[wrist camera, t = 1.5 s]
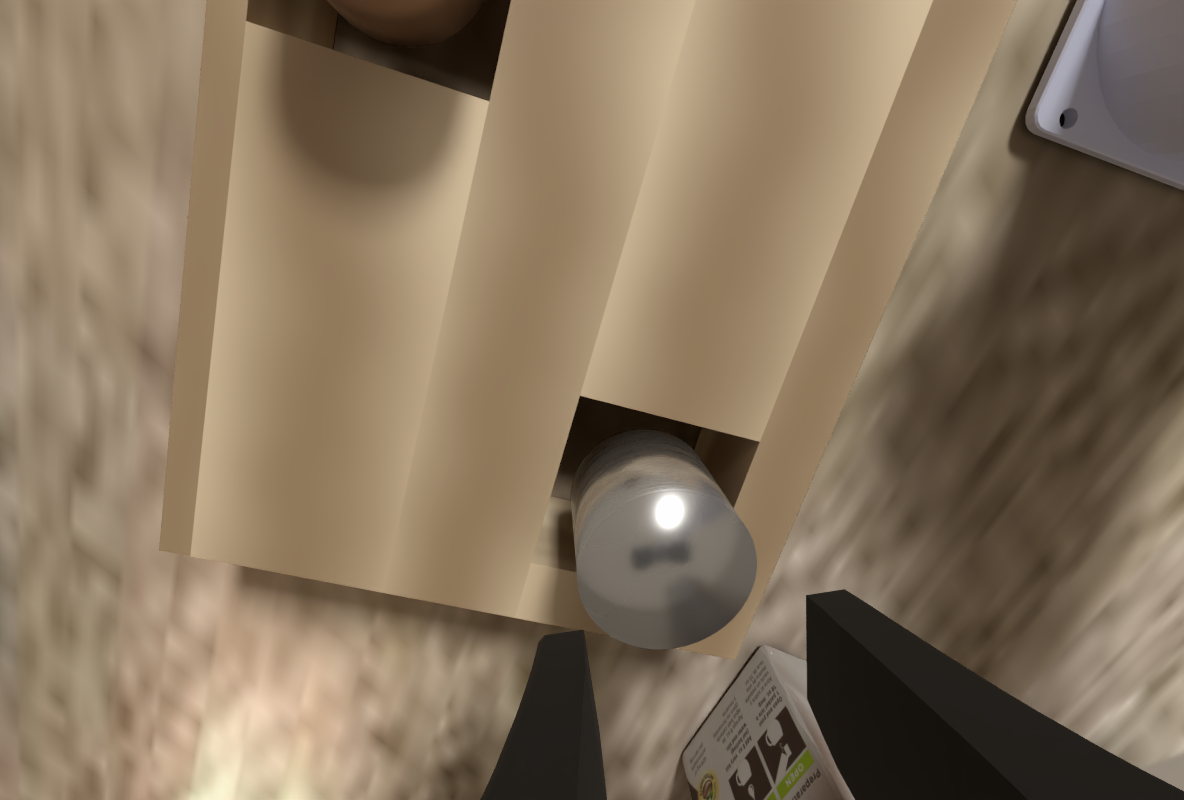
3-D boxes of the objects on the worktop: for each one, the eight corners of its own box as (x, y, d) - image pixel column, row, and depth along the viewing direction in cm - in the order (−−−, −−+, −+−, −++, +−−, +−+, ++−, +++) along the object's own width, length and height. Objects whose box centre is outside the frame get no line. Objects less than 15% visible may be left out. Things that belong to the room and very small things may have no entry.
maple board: (920, 2, 15) (1052, -81, 11) (698, 575, 19) (735, 659, 15) (339, -234, 12) (245, -443, 9) (247, 478, 17) (159, 550, 13)
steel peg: (727, 447, 14) (783, 514, 11) (682, 567, 15) (721, 662, 12) (593, 413, 13) (607, 473, 10) (555, 539, 14) (556, 632, 11)
